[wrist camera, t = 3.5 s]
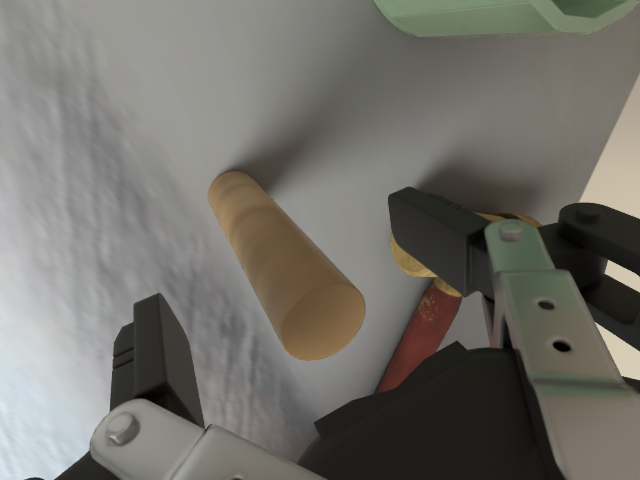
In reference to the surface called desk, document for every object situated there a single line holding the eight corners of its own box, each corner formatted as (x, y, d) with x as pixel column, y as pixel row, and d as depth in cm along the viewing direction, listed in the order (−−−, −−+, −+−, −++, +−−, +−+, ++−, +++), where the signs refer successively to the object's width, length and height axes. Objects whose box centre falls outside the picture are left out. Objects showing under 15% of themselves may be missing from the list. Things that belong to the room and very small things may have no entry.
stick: (222, 227, 19) (301, 376, 10) (198, 185, 17) (265, 318, 9) (266, 204, 19) (375, 328, 11) (245, 161, 18) (352, 265, 9)
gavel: (431, 446, 32) (333, 475, 27) (401, 403, 35) (310, 421, 31) (564, 234, 24) (458, 219, 19) (508, 205, 27) (406, 186, 22)
